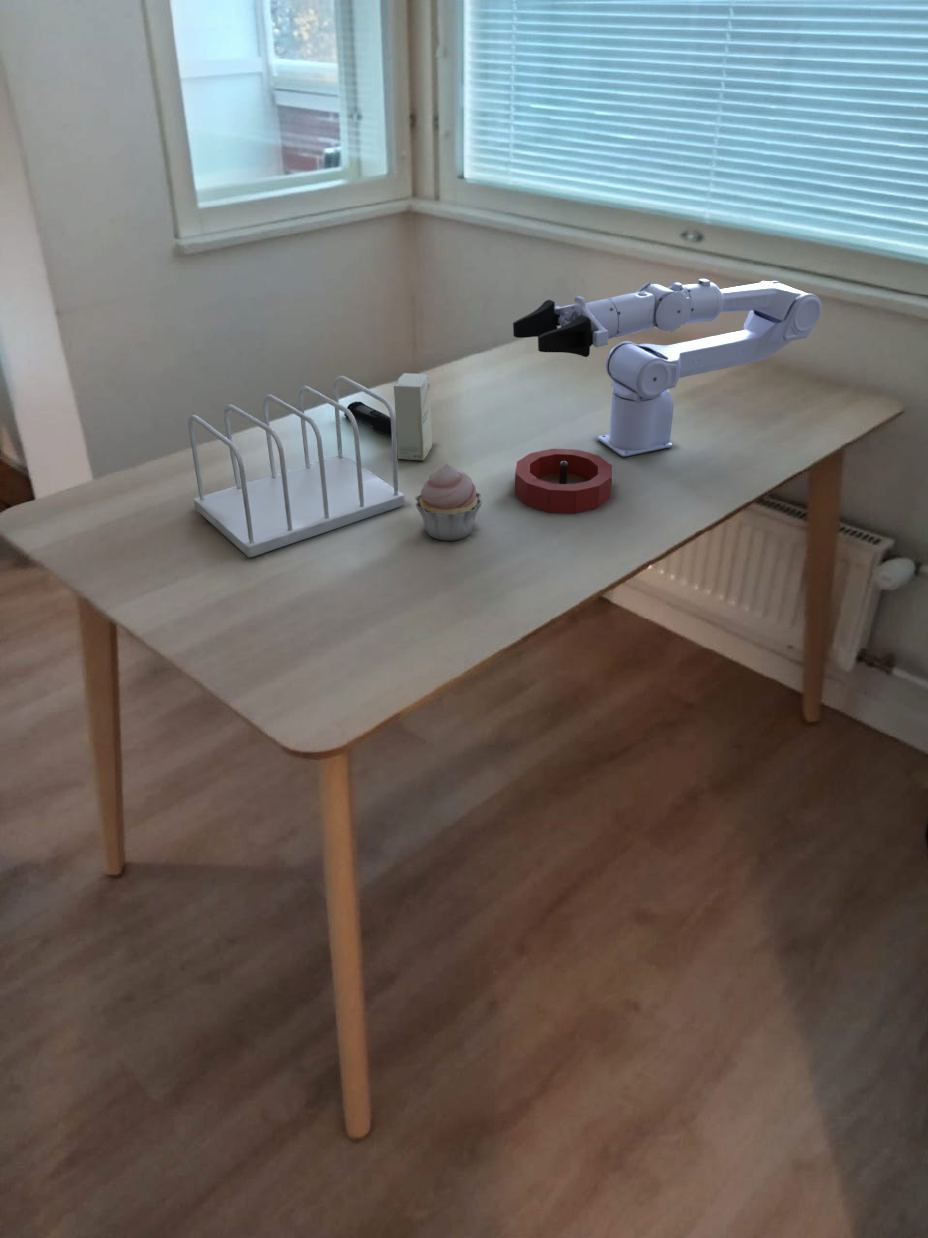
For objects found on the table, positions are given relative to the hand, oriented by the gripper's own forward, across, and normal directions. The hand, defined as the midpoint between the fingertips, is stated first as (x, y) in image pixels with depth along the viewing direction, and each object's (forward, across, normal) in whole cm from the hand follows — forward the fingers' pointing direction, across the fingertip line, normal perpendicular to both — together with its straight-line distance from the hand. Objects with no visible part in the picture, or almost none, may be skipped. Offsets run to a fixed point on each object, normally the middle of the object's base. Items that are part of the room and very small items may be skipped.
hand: (526, 336), depth 137 cm
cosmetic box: (+14, -13, +20) cm, 27 cm away
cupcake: (+20, +13, +20) cm, 31 cm away
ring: (0, +9, +21) cm, 23 cm away
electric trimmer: (+16, -25, +19) cm, 35 cm away
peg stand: (0, +9, +21) cm, 23 cm away
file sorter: (+36, -2, +19) cm, 41 cm away
